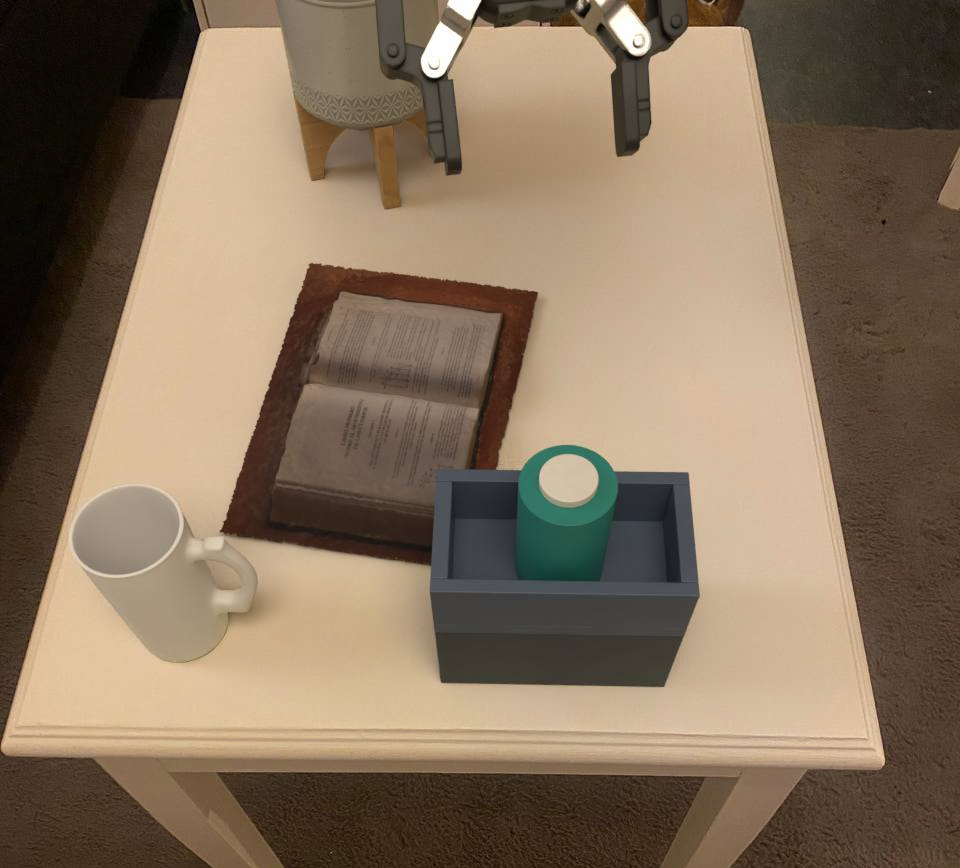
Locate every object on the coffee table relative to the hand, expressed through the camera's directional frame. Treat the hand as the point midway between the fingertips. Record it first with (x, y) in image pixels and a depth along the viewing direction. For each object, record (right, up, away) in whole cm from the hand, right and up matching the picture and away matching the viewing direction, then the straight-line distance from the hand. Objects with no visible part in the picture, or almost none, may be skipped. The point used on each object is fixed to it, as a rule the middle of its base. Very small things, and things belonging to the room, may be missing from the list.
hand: (542, 163), depth 45 cm
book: (-10, -5, +30) cm, 32 cm away
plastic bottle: (+2, -18, +13) cm, 23 cm away
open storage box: (+2, -22, +21) cm, 30 cm away
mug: (-22, -22, +21) cm, 38 cm away
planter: (-13, +22, +44) cm, 50 cm away
